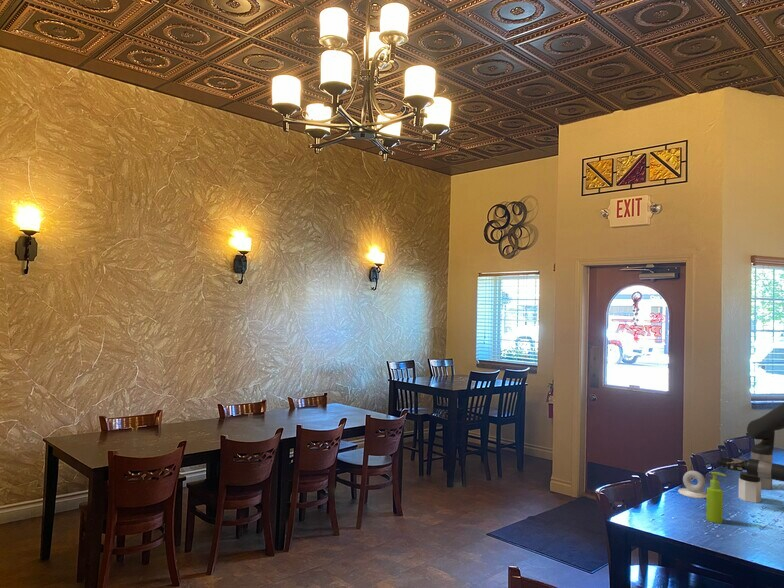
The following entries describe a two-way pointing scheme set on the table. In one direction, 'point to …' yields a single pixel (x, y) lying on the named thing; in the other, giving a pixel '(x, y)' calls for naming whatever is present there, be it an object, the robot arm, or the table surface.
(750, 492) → the jar
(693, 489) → the donut
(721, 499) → the soap dispenser
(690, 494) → the plate
